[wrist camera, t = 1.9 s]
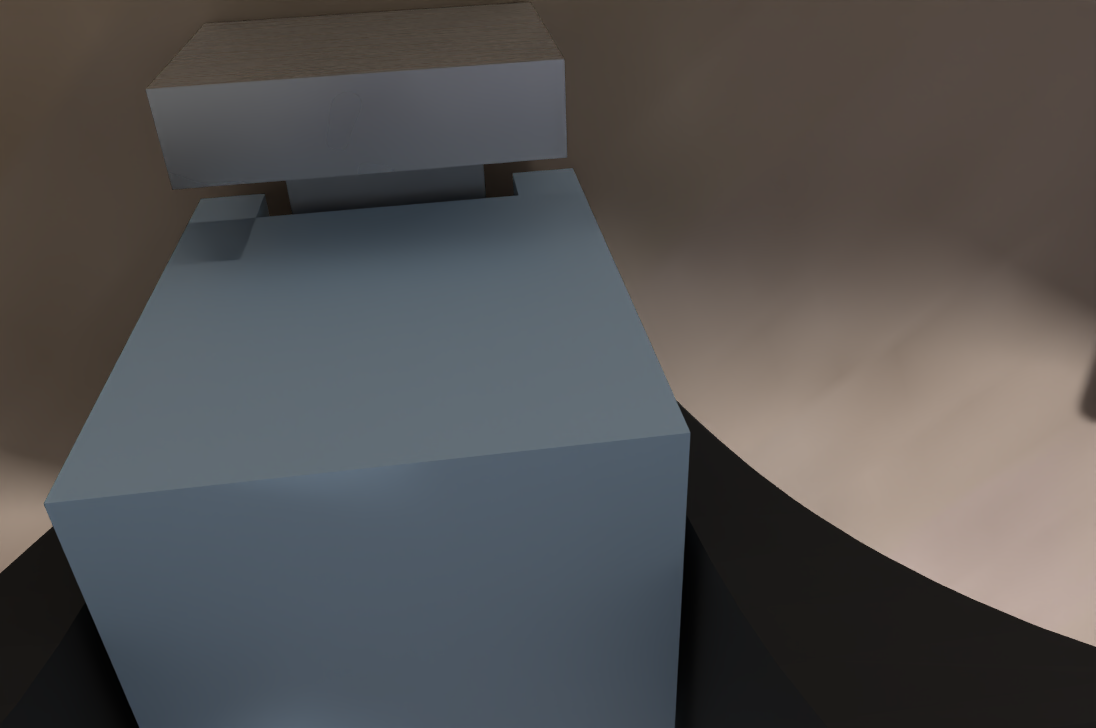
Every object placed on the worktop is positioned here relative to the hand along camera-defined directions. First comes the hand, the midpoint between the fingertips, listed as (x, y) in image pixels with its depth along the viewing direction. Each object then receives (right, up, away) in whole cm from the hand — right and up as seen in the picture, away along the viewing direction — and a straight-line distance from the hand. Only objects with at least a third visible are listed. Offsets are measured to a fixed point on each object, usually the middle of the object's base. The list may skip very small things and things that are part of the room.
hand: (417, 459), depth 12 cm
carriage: (0, +1, +2) cm, 3 cm away
